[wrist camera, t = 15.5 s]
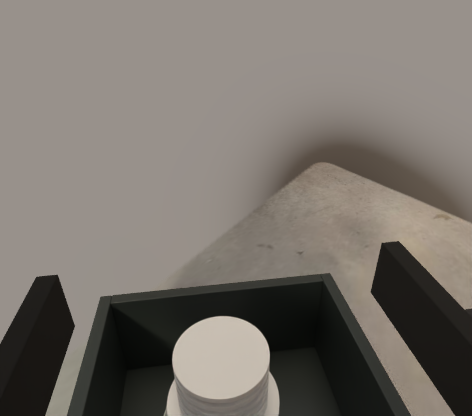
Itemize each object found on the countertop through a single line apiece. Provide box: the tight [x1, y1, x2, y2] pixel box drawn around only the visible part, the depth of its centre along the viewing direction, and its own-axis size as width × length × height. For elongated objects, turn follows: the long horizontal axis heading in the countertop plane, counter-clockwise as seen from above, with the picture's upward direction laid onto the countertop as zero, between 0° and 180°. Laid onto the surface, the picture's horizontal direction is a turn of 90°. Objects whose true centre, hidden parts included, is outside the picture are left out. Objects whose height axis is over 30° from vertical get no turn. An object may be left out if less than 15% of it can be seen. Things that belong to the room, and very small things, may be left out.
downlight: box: [164, 316, 280, 416], centre depth 19 cm, size 8×7×10 cm
